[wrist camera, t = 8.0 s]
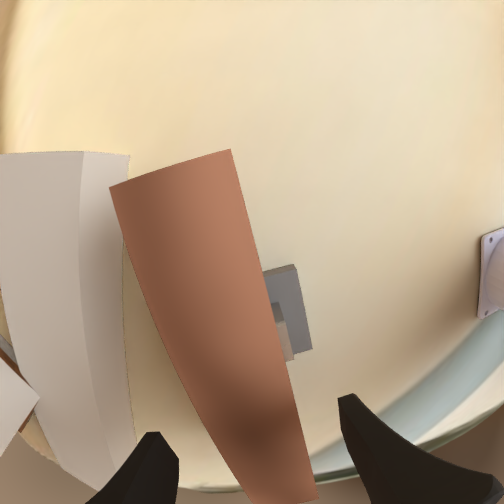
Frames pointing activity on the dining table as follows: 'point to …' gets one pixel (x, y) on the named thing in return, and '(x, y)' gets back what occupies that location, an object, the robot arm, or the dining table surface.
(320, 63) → the dining table surface
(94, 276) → the decorative molding
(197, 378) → the mahogany rod
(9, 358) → the white tower model
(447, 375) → the dining table surface
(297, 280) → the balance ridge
